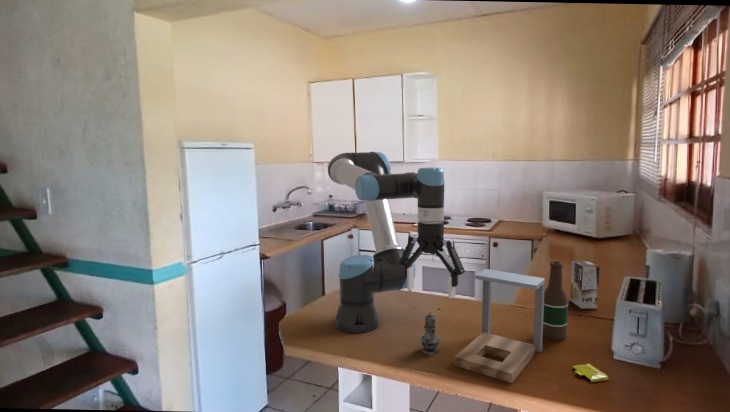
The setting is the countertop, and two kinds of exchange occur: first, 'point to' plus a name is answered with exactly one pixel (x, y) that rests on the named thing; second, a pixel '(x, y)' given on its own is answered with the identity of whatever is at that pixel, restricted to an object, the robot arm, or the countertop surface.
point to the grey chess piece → (430, 336)
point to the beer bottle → (555, 305)
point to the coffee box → (584, 284)
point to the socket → (498, 346)
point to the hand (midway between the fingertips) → (430, 292)
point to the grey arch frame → (518, 281)
